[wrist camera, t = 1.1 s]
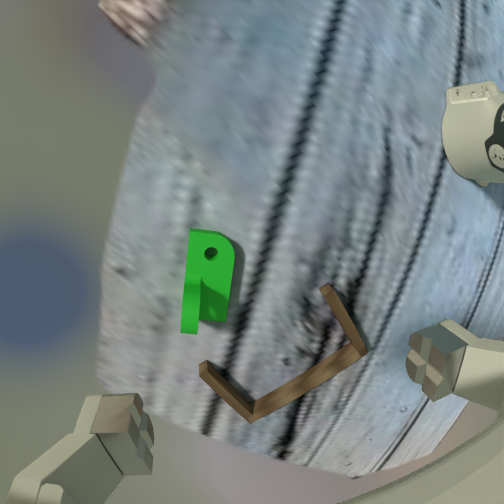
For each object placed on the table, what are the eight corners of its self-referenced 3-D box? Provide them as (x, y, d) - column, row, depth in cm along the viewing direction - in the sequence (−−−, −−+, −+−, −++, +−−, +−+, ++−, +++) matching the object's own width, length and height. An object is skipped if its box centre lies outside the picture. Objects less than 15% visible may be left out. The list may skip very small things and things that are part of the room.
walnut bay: (327, 283, 46) (335, 291, 43) (360, 342, 50) (368, 351, 47) (199, 364, 46) (199, 376, 44) (247, 411, 51) (250, 423, 48)
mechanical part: (224, 314, 45) (229, 345, 37) (182, 311, 44) (179, 341, 36) (236, 233, 42) (243, 250, 34) (190, 227, 41) (187, 244, 33)
